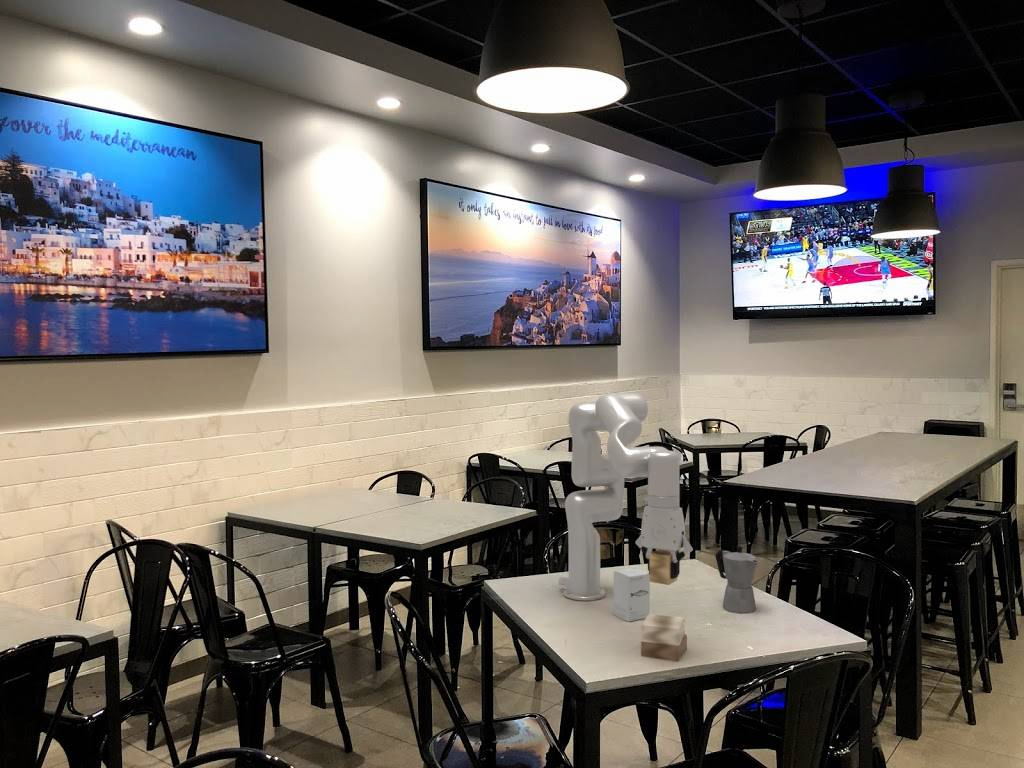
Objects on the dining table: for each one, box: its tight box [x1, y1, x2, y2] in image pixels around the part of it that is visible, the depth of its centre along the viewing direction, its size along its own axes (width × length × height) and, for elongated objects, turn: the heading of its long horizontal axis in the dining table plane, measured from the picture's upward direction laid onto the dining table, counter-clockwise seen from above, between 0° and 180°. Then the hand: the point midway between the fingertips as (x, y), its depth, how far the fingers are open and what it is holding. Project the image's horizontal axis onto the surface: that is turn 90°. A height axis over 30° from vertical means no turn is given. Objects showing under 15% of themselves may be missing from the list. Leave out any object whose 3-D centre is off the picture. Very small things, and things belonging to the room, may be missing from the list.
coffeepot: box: [715, 545, 760, 614], centre depth 239 cm, size 15×9×18 cm, turn 33°
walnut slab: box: [640, 633, 688, 663], centre depth 204 cm, size 9×9×4 cm
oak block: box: [650, 549, 678, 586], centre depth 203 cm, size 5×5×7 cm
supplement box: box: [613, 567, 651, 623], centre depth 231 cm, size 7×7×13 cm
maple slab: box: [641, 613, 686, 646], centre depth 204 cm, size 9×9×4 cm
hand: (663, 575), depth 204 cm, fingers closed on oak block, 5 cm apart
